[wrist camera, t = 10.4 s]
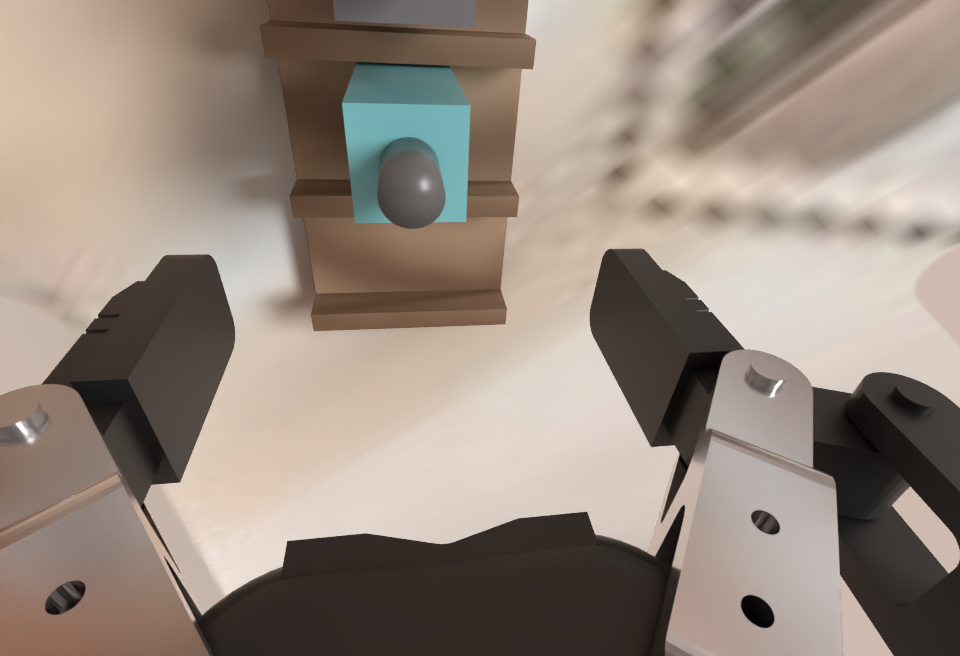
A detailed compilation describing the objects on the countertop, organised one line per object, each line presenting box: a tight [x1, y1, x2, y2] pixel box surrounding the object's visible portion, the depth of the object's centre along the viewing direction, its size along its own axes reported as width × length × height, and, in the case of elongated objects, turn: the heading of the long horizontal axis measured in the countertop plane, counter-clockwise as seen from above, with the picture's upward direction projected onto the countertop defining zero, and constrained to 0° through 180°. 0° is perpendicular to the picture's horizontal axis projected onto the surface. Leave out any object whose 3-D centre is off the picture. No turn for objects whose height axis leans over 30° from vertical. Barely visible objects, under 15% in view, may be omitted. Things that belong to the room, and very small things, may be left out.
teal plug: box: [342, 62, 470, 229], centre depth 17 cm, size 4×4×10 cm
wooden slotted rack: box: [260, 0, 536, 331], centre depth 21 cm, size 20×10×3 cm, turn 177°
